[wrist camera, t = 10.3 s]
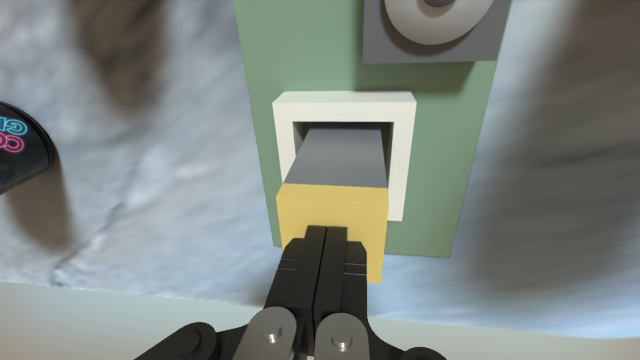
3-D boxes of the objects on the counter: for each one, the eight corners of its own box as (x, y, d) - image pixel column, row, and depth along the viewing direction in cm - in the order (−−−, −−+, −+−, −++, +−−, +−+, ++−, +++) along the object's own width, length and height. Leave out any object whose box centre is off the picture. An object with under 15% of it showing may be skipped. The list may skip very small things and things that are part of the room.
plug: (379, 119, 18) (389, 203, 10) (375, 176, 20) (380, 283, 12) (314, 118, 18) (275, 197, 10) (317, 174, 20) (285, 274, 12)
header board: (535, -142, 12) (616, -216, 8) (445, 247, 23) (461, 294, 19) (225, -106, 14) (171, -151, 10) (277, 236, 25) (260, 277, 21)
